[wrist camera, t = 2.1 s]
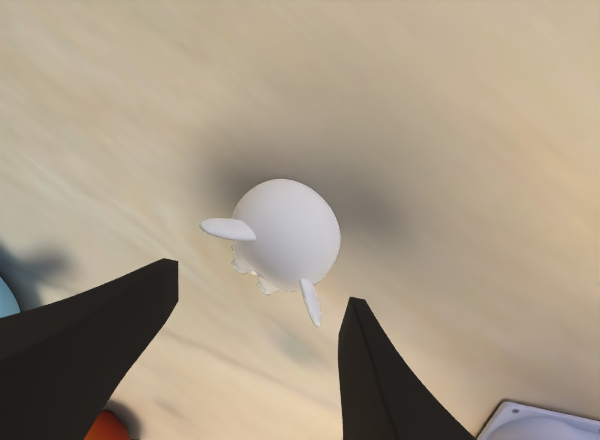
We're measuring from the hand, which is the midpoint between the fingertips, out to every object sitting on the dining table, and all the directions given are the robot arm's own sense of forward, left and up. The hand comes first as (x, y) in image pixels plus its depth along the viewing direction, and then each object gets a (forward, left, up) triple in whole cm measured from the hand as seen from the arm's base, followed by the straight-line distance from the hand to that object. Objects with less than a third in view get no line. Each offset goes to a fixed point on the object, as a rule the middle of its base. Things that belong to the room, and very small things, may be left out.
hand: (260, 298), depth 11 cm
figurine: (0, 0, -8) cm, 8 cm away
